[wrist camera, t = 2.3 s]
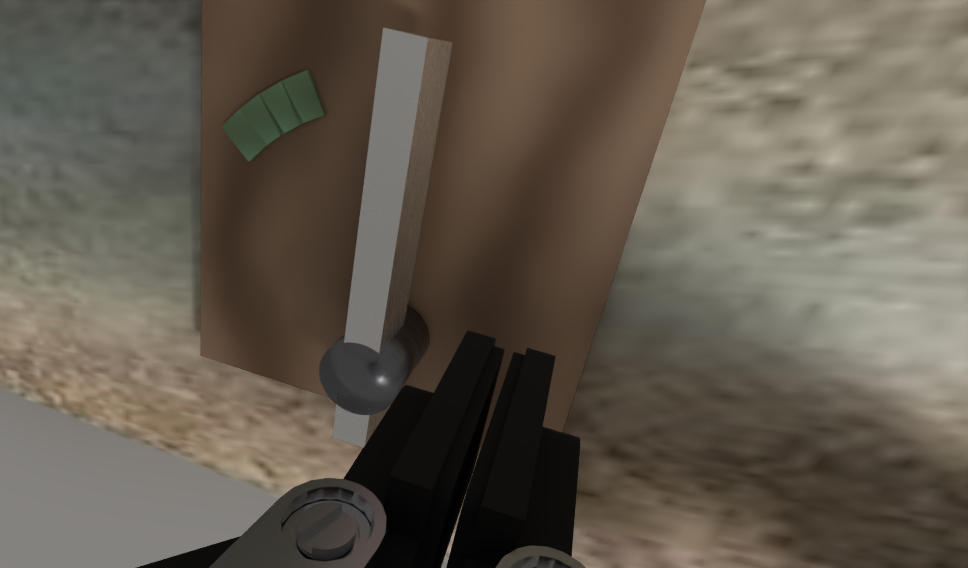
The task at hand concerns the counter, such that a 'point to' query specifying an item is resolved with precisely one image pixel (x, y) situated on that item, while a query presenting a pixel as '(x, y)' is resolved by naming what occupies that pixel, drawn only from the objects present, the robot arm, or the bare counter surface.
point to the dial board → (453, 177)
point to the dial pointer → (388, 238)
